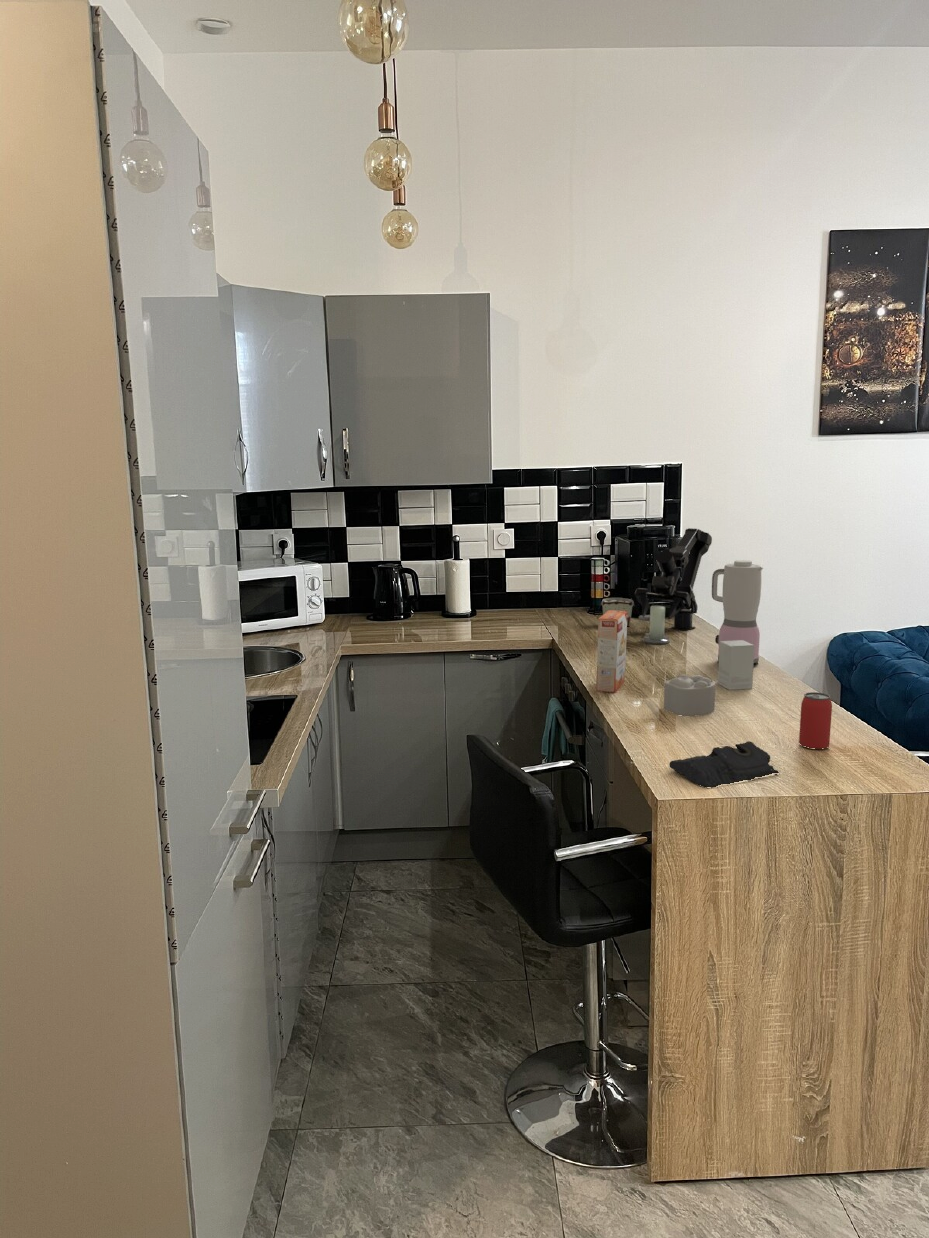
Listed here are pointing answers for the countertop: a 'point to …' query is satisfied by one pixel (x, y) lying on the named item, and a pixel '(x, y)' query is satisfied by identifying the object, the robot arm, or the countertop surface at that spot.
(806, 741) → the beer can
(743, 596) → the blender
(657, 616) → the sage green rounded block
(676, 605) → the robot arm
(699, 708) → the lumpy-topped squat cylinder
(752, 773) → the folded black cloth
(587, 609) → the countertop surface
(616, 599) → the food container
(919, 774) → the countertop surface
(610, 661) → the cracker box
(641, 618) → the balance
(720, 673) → the supplement box
